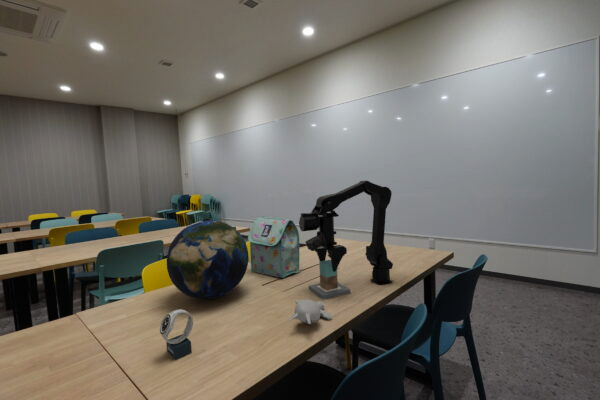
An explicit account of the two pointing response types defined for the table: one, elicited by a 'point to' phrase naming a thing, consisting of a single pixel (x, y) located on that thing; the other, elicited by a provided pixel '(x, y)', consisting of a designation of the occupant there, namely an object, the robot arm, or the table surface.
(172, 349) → the watch
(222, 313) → the table surface
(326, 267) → the teal block
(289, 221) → the lunch bag
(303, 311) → the toy creature
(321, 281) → the walnut block
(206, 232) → the globe
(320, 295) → the baseplate
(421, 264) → the table surface
